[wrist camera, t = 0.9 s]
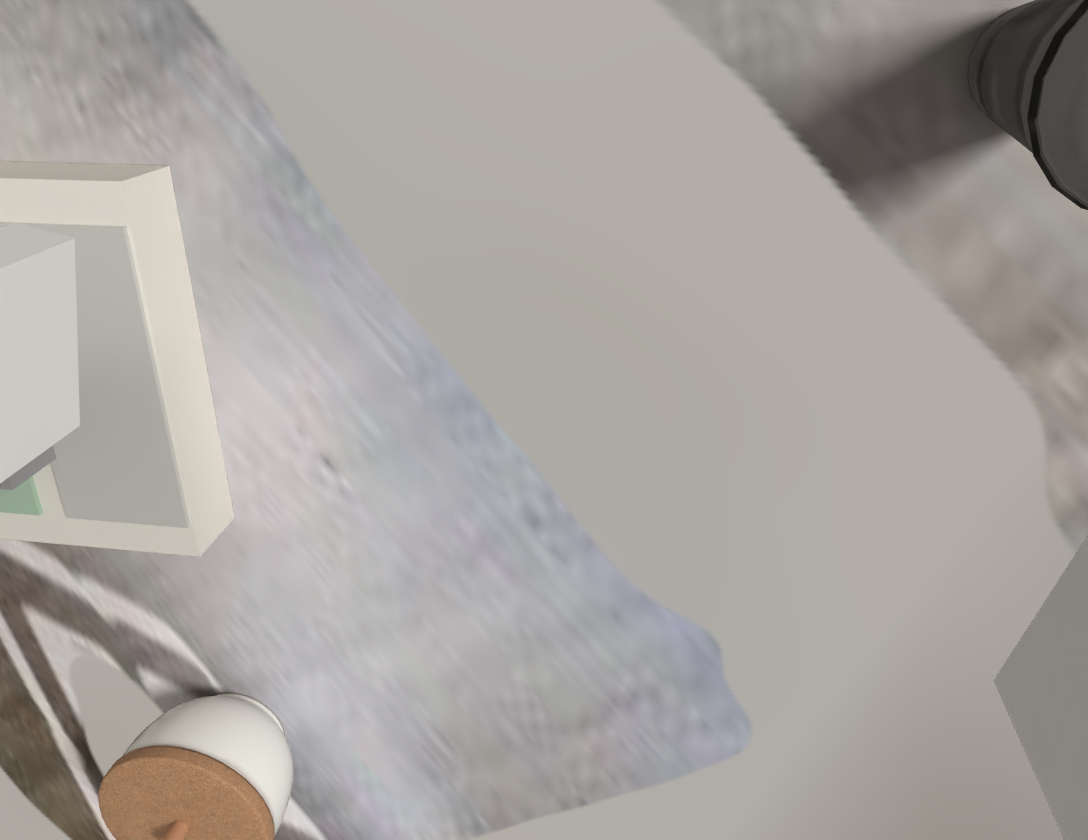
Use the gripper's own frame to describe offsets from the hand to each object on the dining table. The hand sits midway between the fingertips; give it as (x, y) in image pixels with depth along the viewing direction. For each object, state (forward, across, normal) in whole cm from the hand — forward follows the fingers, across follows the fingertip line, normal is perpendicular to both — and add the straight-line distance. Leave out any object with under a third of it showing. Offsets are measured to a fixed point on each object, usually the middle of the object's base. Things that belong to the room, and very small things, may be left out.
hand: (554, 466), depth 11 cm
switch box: (+30, +27, +19) cm, 45 cm away
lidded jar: (+30, +16, +44) cm, 55 cm away
